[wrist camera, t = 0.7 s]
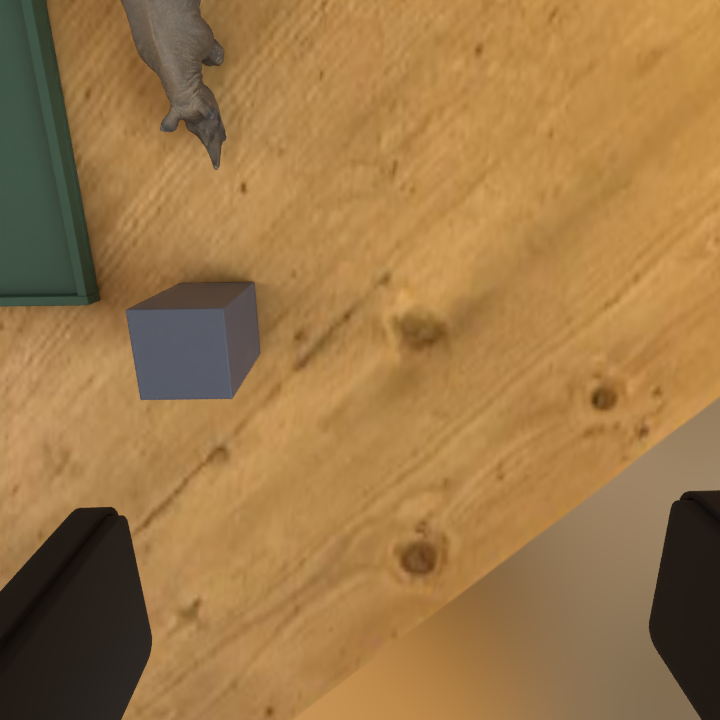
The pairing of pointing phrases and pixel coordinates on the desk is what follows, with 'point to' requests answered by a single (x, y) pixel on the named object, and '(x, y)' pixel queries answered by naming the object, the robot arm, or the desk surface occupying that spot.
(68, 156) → the green tray
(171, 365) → the block
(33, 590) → the robot arm
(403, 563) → the desk surface
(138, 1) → the rhino figurine
